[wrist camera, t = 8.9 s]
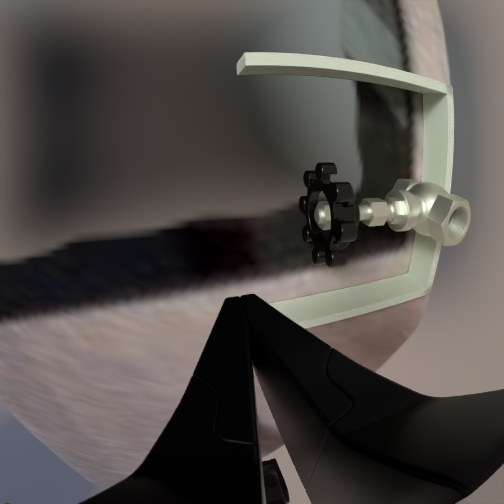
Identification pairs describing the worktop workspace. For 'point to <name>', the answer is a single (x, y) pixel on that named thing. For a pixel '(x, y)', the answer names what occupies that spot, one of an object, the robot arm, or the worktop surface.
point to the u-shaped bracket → (433, 170)
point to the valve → (377, 213)
